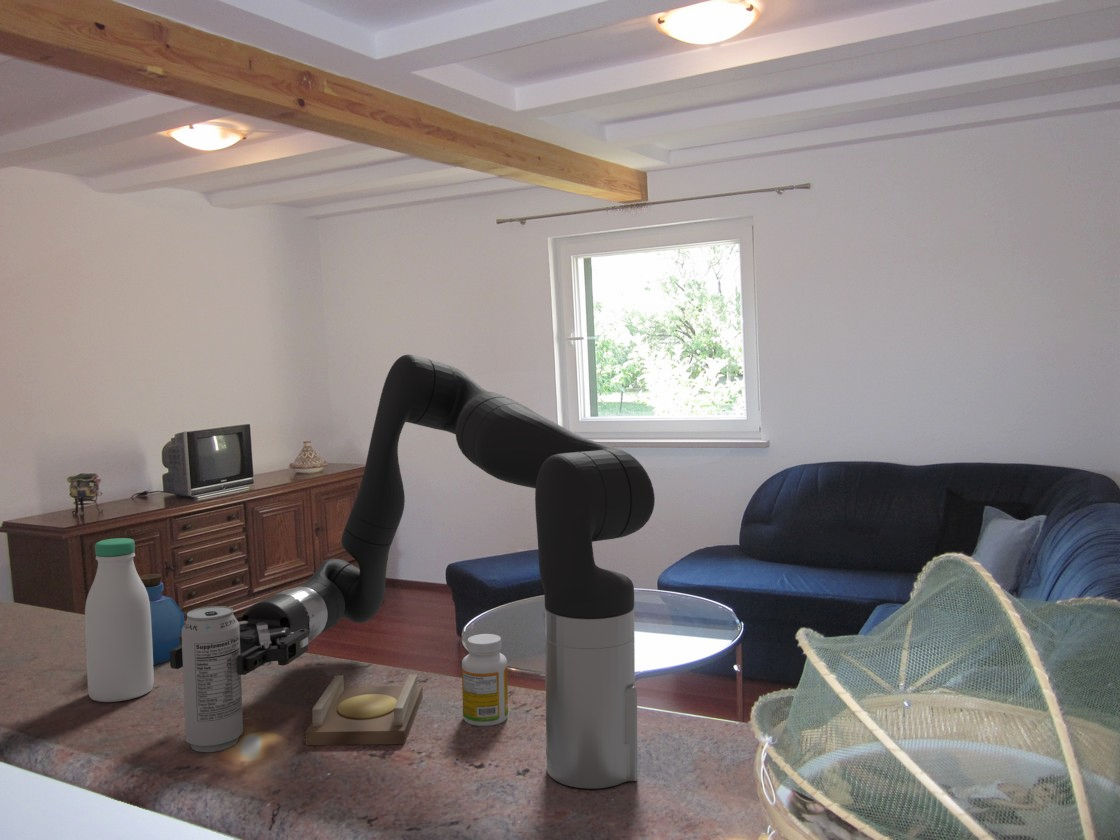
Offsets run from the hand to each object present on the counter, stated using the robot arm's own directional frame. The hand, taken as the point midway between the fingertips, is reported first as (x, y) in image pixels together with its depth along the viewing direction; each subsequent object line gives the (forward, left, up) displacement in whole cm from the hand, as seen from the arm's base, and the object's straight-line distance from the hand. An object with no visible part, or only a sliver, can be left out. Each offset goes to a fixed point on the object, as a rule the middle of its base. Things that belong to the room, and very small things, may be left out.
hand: (205, 663), depth 101 cm
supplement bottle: (-30, -7, -10) cm, 33 cm away
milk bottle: (+18, -17, -10) cm, 27 cm away
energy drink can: (0, -1, -10) cm, 10 cm away
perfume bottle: (+20, -31, -10) cm, 38 cm away
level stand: (-16, -7, -10) cm, 20 cm away
